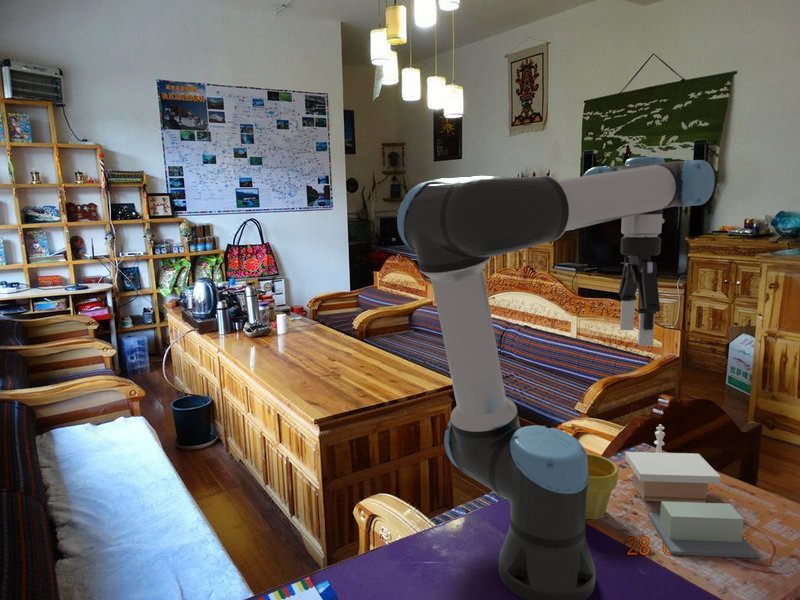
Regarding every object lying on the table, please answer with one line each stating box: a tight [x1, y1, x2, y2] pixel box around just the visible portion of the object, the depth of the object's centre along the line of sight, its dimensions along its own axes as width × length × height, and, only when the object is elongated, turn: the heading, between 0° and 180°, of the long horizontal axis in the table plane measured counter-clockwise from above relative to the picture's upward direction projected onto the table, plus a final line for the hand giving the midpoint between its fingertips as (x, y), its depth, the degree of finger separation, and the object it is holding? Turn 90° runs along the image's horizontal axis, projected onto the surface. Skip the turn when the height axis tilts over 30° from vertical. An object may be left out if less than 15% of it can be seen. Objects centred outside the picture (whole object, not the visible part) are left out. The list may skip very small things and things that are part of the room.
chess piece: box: [653, 424, 666, 453], centre depth 125 cm, size 5×5×10 cm
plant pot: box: [586, 452, 619, 520], centre depth 107 cm, size 10×10×10 cm
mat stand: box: [647, 501, 759, 559], centre depth 99 cm, size 14×12×5 cm
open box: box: [632, 472, 709, 503], centre depth 114 cm, size 12×7×5 cm, turn 84°
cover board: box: [624, 451, 721, 484], centre depth 113 cm, size 15×10×2 cm, turn 84°
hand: (635, 337), depth 116 cm, fingers open, 13 cm apart
